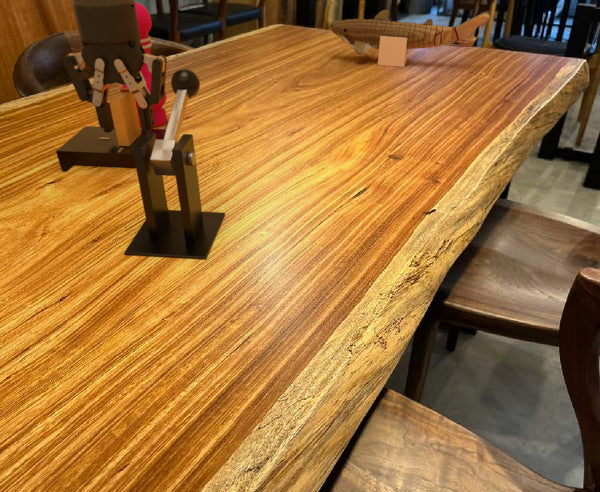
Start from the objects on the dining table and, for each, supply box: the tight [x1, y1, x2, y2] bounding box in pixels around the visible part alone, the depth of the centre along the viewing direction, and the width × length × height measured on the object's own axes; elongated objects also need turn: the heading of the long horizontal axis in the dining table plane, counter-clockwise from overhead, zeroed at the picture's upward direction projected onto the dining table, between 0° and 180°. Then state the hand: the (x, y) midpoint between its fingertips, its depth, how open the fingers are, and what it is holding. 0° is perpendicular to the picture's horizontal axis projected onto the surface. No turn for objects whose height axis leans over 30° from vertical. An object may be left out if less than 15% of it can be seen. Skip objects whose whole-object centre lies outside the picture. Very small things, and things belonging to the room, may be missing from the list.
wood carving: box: [329, 9, 490, 68], centre depth 122 cm, size 9×35×11 cm, turn 74°
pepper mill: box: [121, 1, 168, 128], centre depth 87 cm, size 7×7×20 cm
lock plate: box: [55, 125, 167, 172], centre depth 79 cm, size 14×10×3 cm
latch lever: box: [150, 68, 201, 177], centre depth 58 cm, size 14×3×3 cm, turn 175°
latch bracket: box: [123, 133, 226, 261], centre depth 58 cm, size 10×9×12 cm
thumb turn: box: [108, 87, 141, 146], centre depth 76 cm, size 5×2×7 cm, turn 174°
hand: (128, 131), depth 77 cm, fingers open, 5 cm apart
